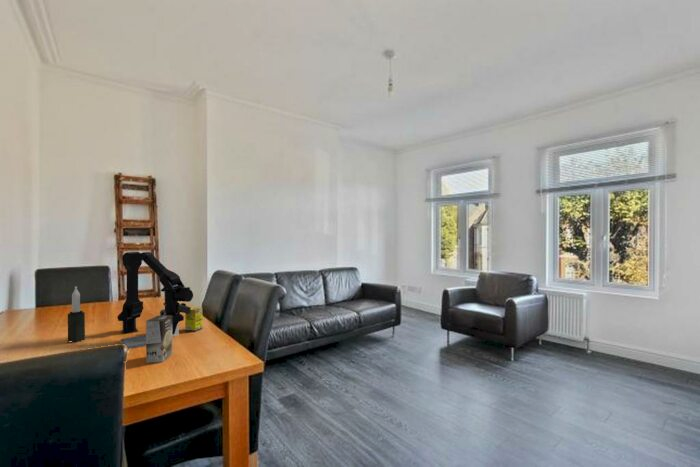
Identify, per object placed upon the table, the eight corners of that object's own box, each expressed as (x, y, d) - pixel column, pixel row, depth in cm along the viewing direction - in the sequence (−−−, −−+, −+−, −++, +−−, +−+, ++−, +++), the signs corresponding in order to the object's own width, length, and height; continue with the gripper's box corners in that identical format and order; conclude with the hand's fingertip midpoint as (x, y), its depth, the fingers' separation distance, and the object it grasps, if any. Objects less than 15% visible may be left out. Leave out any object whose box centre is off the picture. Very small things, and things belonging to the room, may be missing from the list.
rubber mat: (120, 341, 160) (120, 338, 160) (155, 335, 169) (155, 332, 169) (126, 349, 149) (126, 346, 149) (162, 342, 158) (162, 339, 158)
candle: (86, 339, 163) (85, 285, 162) (74, 343, 158) (73, 287, 158) (78, 338, 164) (77, 285, 164) (66, 342, 159) (65, 287, 159)
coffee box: (163, 362, 134) (162, 320, 134) (145, 363, 134) (145, 321, 134) (173, 354, 144) (172, 314, 143) (156, 354, 143) (156, 315, 143)
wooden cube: (164, 335, 169) (164, 324, 169) (175, 333, 173) (175, 322, 173) (167, 337, 166) (167, 326, 166) (178, 335, 169) (178, 324, 169)
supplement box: (195, 331, 174) (195, 310, 174) (184, 331, 176) (184, 309, 176) (202, 328, 180) (202, 307, 180) (192, 328, 181) (192, 306, 181)
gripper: (195, 301, 167) (195, 334, 168) (183, 295, 181) (183, 326, 182) (169, 304, 160) (169, 338, 160) (159, 298, 174) (159, 330, 174)
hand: (171, 333), depth 169 cm, fingers closed on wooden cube, 5 cm apart
